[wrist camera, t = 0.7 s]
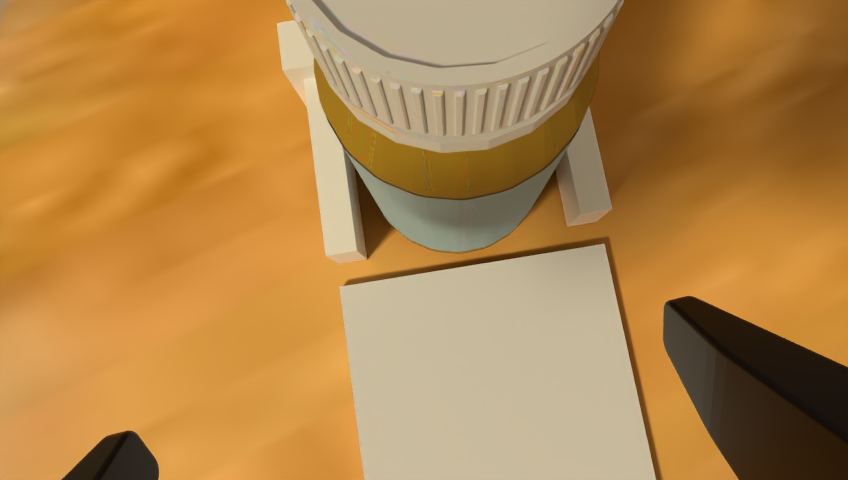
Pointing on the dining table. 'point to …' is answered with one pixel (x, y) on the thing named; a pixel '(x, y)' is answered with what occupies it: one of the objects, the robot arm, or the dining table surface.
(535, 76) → the bottle
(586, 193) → the dock
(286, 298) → the dining table surface
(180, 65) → the dining table surface
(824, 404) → the robot arm
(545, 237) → the dining table surface
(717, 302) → the dining table surface
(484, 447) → the mat
